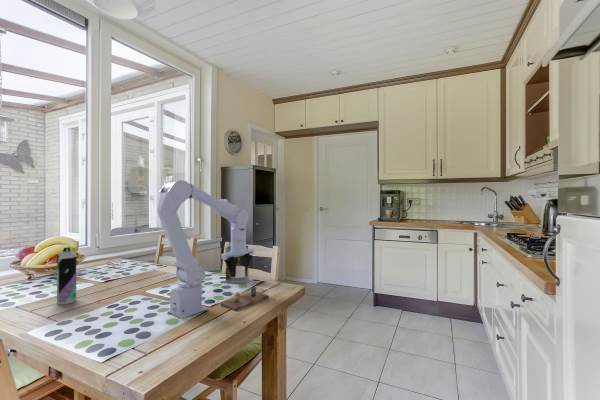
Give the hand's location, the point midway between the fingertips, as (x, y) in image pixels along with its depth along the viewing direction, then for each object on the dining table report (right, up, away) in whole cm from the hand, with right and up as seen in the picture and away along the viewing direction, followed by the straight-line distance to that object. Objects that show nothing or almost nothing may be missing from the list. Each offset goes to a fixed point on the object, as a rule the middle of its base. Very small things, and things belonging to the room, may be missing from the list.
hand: (238, 275), depth 107 cm
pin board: (+4, -8, -5) cm, 10 cm away
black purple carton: (-62, -9, -5) cm, 63 cm away
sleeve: (0, -2, 0) cm, 2 cm away
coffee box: (-5, -9, +21) cm, 23 cm away
